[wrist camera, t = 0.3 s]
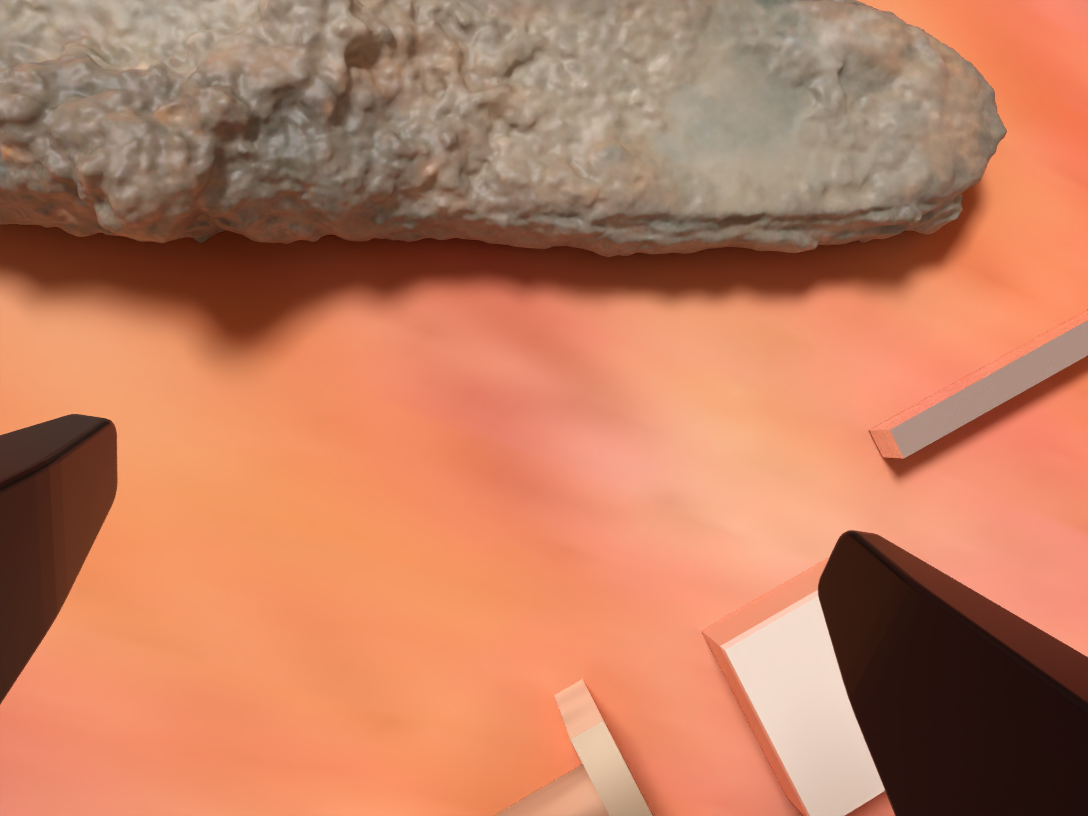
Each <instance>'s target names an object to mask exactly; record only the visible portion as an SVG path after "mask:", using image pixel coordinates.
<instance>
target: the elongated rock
mask: <svg viewBox="0 0 1088 816" xmlns="http://www.w3.org/2000/svg"><path fill="white" fill-rule="evenodd" d="M1006 132H1007V130H1006V129H1005V127H1004V125H1003V122H1002V121H1001V119H1000V117H999V115H998V113H997V106H996V103H995V92H994V89H993V88H992V87H991V86H990V85H989V84H988V82H987V81H986V80H985V79H984V77H983V76H982V75H981V73H980V72H979V71H978V70H977V69H976V68H975V67H974V66H973V64H972V63H971V62H969V61H967V60H965V59H964V58H963V57H961V56H960V54H959V53H957V52H956V51H955V50H954V49H953V48H950V47H948V46H947V45H946V44H944V43H941V42H940V41H938V40H937V39H936V38H935V37H933V36H932V35H930V34H928V33H926V32H925V31H924V30H923V29H920V28H919V27H915V26H912V25H909V24H906V23H905V22H904V21H903V20H901V19H900V18H898V17H897V16H896V15H895V14H894V13H892V12H889V11H880V10H878V9H876V8H873V7H871V6H868V5H865V4H864V3H861V2H859V1H856V0H0V225H6V224H20V225H41V226H43V227H46V228H50V227H55V226H56V227H59V228H61V229H62V230H64V231H66V232H67V233H69V234H72V235H74V236H77V237H85V236H90V235H94V234H96V233H99V232H101V233H104V234H106V235H115V236H125V237H128V238H132V239H135V240H137V241H140V242H147V241H153V242H158V243H166V242H169V241H171V240H176V239H179V238H185V237H191V238H193V239H194V240H195V241H197V242H199V243H203V242H205V241H206V240H208V239H209V238H211V237H212V236H214V235H215V234H217V233H220V232H223V231H225V230H228V231H232V232H234V233H237V234H241V235H244V236H245V237H247V238H249V239H250V240H252V241H255V242H268V243H277V242H279V243H283V244H289V243H292V242H294V241H298V240H308V241H311V242H315V241H318V240H319V239H320V238H321V237H322V236H325V235H336V236H338V237H340V238H341V239H345V240H348V241H369V240H371V239H373V238H378V239H389V240H402V241H405V242H411V241H417V240H420V239H423V238H434V239H437V240H447V239H450V238H461V239H470V240H475V239H476V240H480V241H484V242H486V243H490V244H496V243H497V244H501V245H505V244H506V245H510V246H514V247H524V248H534V249H547V248H550V247H554V246H569V247H575V248H582V249H585V250H590V251H593V252H595V253H597V254H598V255H601V256H605V257H612V256H615V255H621V256H629V255H632V254H634V253H646V254H667V253H671V252H673V253H683V254H688V253H694V252H697V251H701V250H705V249H708V248H710V249H712V248H723V247H743V248H750V249H753V250H755V251H778V252H786V253H798V252H804V251H808V250H813V249H815V248H816V247H817V245H832V244H833V245H840V244H846V243H849V242H854V241H857V240H858V241H860V242H862V243H865V242H868V241H870V240H872V239H886V238H889V237H892V236H895V235H898V234H900V233H902V232H903V231H906V230H910V231H916V232H919V233H921V234H924V235H930V234H933V233H935V232H936V231H938V230H939V229H940V228H942V227H943V226H945V225H946V224H948V223H949V222H951V221H954V220H956V219H957V218H958V217H959V215H960V213H961V212H962V210H963V206H962V204H961V202H962V201H963V200H964V197H962V193H964V191H965V190H967V189H968V188H971V187H973V186H975V185H977V184H978V183H979V182H980V181H981V179H982V176H983V174H984V172H985V169H986V167H987V164H988V162H989V160H990V158H991V157H992V156H993V155H994V154H995V152H996V148H997V145H998V143H999V142H1000V141H1001V140H1002V139H1003V138H1004V137H1005V134H1006Z"/></svg>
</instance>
